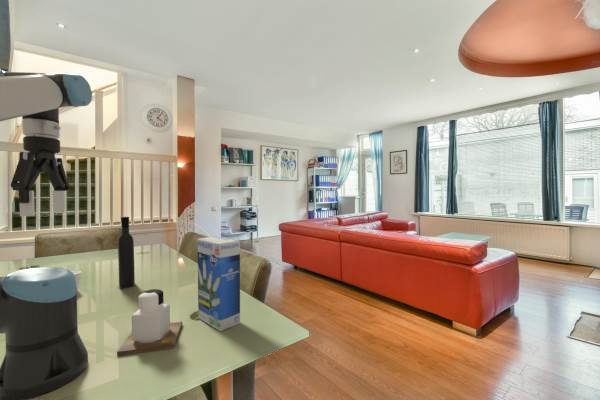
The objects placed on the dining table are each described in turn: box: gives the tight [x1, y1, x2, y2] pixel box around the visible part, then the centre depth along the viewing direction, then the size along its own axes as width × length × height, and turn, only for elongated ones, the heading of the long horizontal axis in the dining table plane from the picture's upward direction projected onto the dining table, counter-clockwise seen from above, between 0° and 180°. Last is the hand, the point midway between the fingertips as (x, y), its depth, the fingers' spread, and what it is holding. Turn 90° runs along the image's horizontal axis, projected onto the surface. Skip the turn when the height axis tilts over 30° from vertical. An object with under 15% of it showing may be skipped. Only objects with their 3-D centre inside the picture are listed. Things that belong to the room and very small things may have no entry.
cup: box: [70, 270, 82, 293], centre depth 114 cm, size 7×10×8 cm
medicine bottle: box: [131, 288, 171, 341], centre depth 76 cm, size 7×7×12 cm
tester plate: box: [116, 321, 183, 357], centre depth 77 cm, size 13×13×2 cm
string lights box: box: [196, 235, 241, 332], centre depth 87 cm, size 13×8×26 cm, turn 48°
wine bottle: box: [117, 216, 136, 289], centre depth 120 cm, size 6×6×30 cm
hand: (44, 214), depth 77 cm, fingers open, 13 cm apart
